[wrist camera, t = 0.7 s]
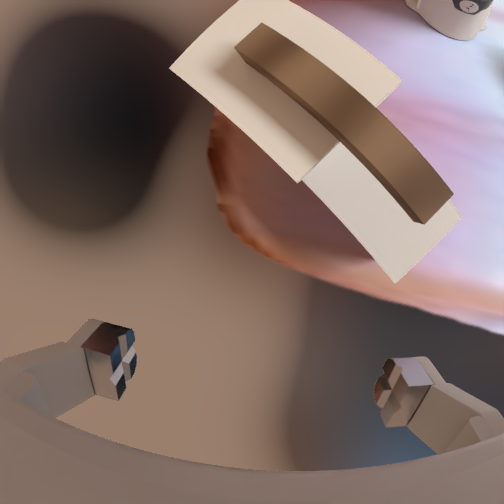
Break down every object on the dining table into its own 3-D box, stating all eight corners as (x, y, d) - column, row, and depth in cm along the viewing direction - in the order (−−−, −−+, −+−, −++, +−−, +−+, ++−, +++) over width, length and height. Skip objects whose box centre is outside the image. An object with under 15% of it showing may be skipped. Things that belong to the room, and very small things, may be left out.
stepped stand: (253, 130, 49) (168, 68, 22) (300, 84, 45) (258, -15, 19) (378, 260, 46) (421, 326, 20) (428, 212, 43) (517, 226, 16)
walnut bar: (246, 63, 20) (233, 47, 18) (271, 40, 20) (261, 22, 17) (413, 221, 19) (424, 224, 16) (439, 194, 18) (453, 194, 15)
